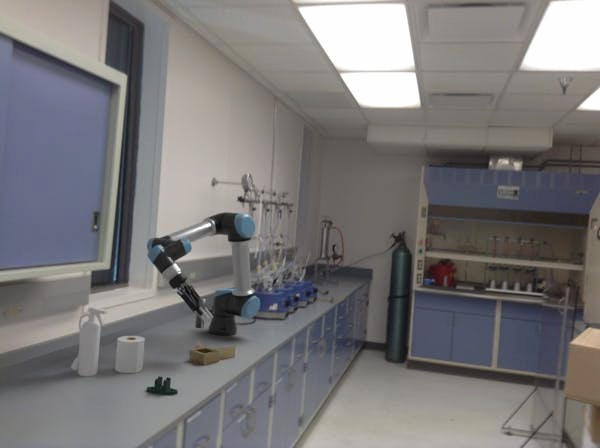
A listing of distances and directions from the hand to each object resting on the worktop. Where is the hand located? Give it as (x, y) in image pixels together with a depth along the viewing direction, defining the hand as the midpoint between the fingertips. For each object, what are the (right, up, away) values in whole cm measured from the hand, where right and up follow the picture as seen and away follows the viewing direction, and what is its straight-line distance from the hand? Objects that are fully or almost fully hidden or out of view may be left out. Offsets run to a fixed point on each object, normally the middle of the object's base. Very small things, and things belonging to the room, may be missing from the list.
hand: (208, 319), depth 224 cm
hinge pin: (-4, -3, +1) cm, 5 cm away
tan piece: (-3, -18, +8) cm, 19 cm away
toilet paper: (-28, -16, -19) cm, 37 cm away
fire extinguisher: (-41, -15, -27) cm, 52 cm away
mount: (-9, -18, -40) cm, 45 cm away
